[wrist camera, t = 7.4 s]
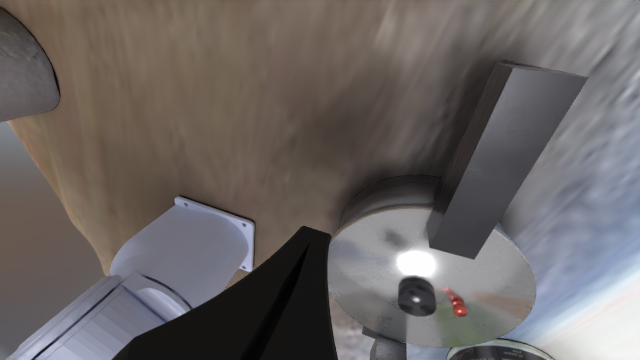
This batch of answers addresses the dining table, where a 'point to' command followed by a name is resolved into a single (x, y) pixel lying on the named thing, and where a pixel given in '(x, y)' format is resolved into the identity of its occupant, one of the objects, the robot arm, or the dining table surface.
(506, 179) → the lid
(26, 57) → the pillar candle
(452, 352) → the coffee can
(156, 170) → the dining table surface
